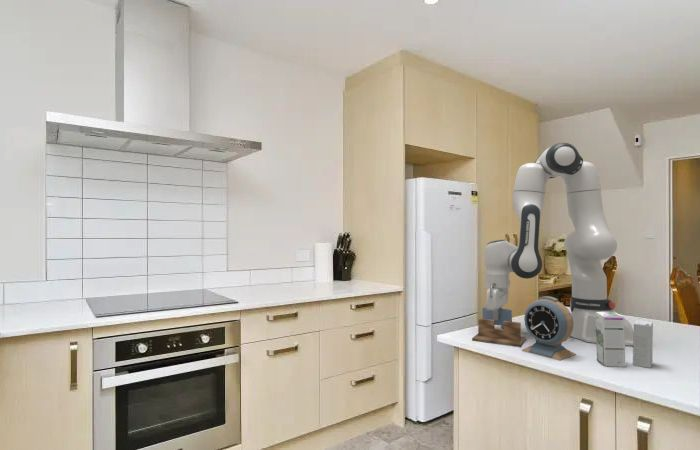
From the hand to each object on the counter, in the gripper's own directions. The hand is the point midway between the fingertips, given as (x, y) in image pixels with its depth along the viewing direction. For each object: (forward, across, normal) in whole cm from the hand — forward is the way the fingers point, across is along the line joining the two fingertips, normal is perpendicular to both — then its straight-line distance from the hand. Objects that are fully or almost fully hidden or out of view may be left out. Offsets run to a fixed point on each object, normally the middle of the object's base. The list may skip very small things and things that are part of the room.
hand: (497, 319), depth 156 cm
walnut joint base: (+5, -11, -3) cm, 12 cm away
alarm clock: (+5, -18, -19) cm, 27 cm away
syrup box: (+5, -21, -36) cm, 42 cm away
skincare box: (+5, -17, -44) cm, 47 cm away
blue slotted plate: (+5, 0, 0) cm, 5 cm away
